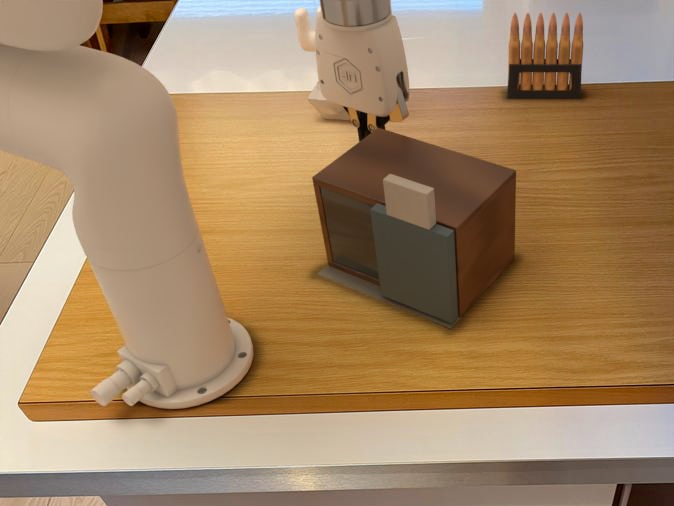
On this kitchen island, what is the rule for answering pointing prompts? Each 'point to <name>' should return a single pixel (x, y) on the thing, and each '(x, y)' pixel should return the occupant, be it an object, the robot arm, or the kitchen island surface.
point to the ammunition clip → (545, 60)
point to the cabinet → (450, 207)
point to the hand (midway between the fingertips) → (374, 154)
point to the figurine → (316, 97)
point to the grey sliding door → (414, 250)
